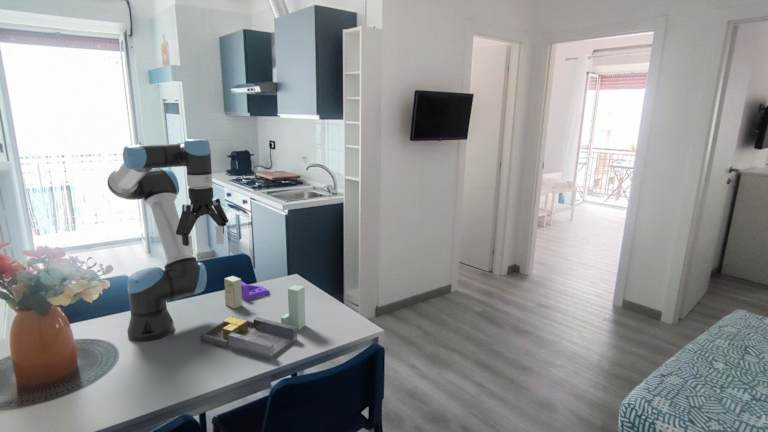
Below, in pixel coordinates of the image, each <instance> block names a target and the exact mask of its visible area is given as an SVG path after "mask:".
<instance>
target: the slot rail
mask: <svg viewBox="0 0 768 432" xmlns="http://www.w3.org/2000/svg"><path fill="white" fill-rule="evenodd" d="M253 322H254V328H253V329H252V330H250V331H248V332H247V333H245V334H244V335H240V334H236V333H230V334H229V335H228V344H229V347H228V349H231V350H235V351H238V352H242V353H245V354H249V355H252V356H255V357H258V358H263V359H266V360H269V361H272V360H273V359H274V358H276V357H277V356H278V355H279V354H280V353H283V351H284V350H286V349H288V348H289V347H290V346H292V344H294V343H296V342H297V340H298V330H297V327H294V326H290V325H286V324H282V323H281V322H279V321H274V320H270V319H266V318H261V317H258V316H256V317H255V318H254V319H253Z"/></svg>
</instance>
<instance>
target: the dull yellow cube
mask: <svg viewBox="0 0 768 432" xmlns="http://www.w3.org/2000/svg"><path fill="white" fill-rule="evenodd" d="M235 317H236V316H234V317H232V316H229V317H227V318H226V319H224V320H222V322H223V327H226V326H227V325H229V324H231V323H232V322H234V321H236V320H238V319H239V318H240V317H238V318H235Z"/></svg>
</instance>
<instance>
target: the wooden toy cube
mask: <svg viewBox="0 0 768 432" xmlns="http://www.w3.org/2000/svg"><path fill="white" fill-rule="evenodd" d="M230 333H236V334H240V329H239V326H238V325H234V324H229V325H227V326H226V327H224V328H223V338H224V339H227V340H228V335H229V334H230Z"/></svg>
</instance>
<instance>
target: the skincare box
mask: <svg viewBox="0 0 768 432" xmlns="http://www.w3.org/2000/svg"><path fill="white" fill-rule="evenodd" d="M241 281H242V278H240V277H237V276H235V275H231V276H227V277H224V299H225V300H224V301H225V303H224V304H225V306H228V307H229V308H231V309H237V308H239V307H242V306H243V300H242V286H241Z"/></svg>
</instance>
